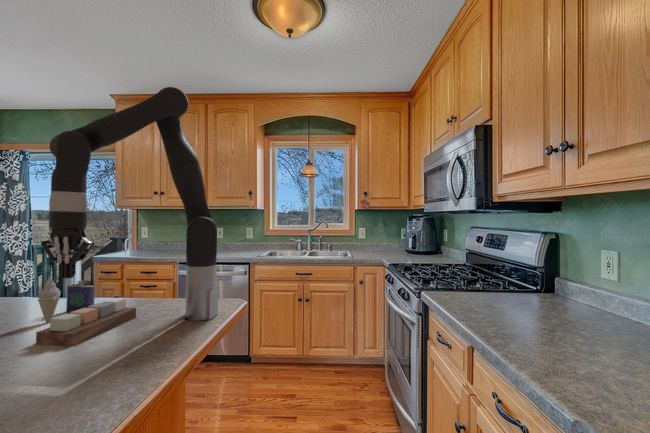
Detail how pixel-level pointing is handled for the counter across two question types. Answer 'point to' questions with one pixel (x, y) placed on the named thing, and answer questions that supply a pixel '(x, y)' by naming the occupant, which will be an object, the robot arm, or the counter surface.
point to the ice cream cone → (49, 299)
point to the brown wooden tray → (85, 329)
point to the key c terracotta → (87, 314)
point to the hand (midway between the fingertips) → (66, 277)
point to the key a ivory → (117, 303)
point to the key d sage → (65, 322)
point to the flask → (79, 296)
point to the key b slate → (103, 309)
